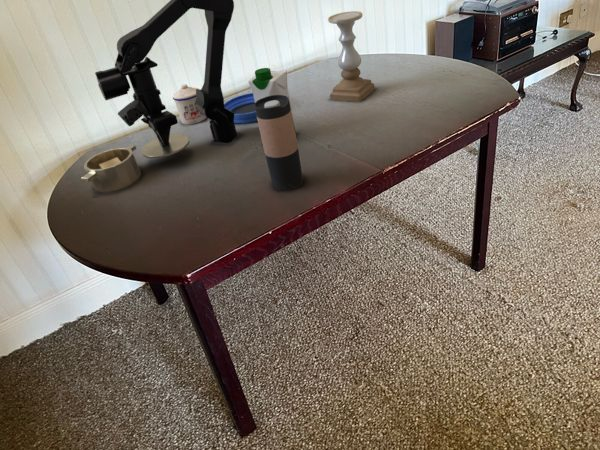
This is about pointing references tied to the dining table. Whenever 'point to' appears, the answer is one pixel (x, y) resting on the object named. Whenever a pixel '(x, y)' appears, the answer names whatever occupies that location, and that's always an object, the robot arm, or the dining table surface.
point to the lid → (160, 150)
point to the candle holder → (349, 61)
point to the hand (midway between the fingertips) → (164, 143)
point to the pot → (112, 170)
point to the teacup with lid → (187, 105)
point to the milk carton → (269, 84)
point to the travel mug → (279, 141)
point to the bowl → (242, 108)
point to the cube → (109, 163)
